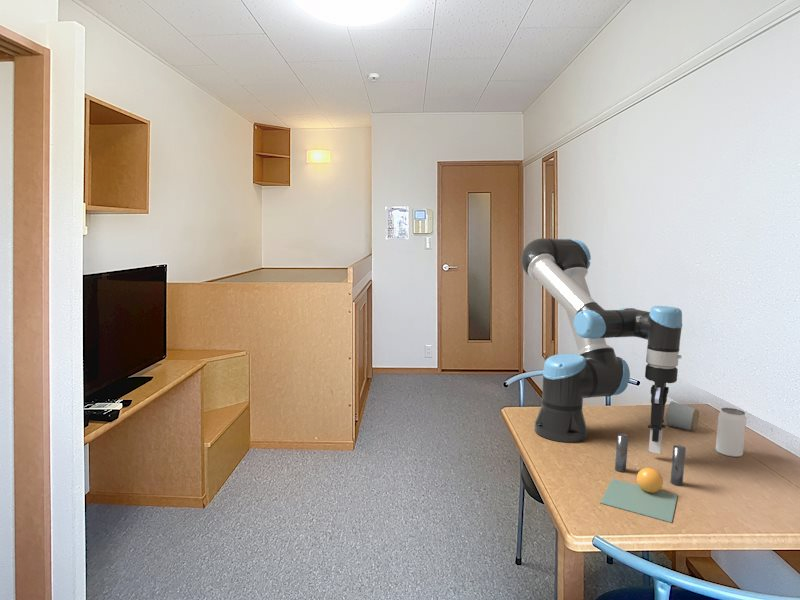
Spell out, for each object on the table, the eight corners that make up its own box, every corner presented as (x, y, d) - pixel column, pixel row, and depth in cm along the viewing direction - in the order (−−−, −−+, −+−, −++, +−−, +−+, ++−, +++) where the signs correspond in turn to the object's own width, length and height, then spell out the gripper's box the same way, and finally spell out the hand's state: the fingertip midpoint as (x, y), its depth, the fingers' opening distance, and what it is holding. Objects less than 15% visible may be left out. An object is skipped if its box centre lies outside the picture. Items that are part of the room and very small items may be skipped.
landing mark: (600, 503, 113) (600, 502, 113) (612, 479, 125) (612, 478, 125) (671, 523, 106) (671, 522, 106) (677, 495, 118) (677, 494, 118)
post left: (613, 470, 130) (616, 436, 129) (615, 466, 132) (618, 432, 131) (624, 473, 129) (627, 438, 128) (626, 469, 131) (629, 435, 130)
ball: (636, 475, 124) (634, 494, 120) (639, 460, 121) (636, 479, 117) (662, 481, 121) (660, 500, 117) (665, 466, 118) (663, 485, 114)
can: (747, 458, 140) (751, 415, 138) (720, 456, 141) (724, 413, 140) (736, 449, 146) (740, 408, 145) (711, 447, 147) (715, 406, 146)
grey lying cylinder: (693, 434, 157) (695, 409, 157) (664, 427, 163) (666, 403, 162) (700, 426, 165) (703, 402, 165) (672, 419, 171) (674, 397, 170)
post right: (669, 483, 124) (673, 447, 123) (670, 479, 126) (674, 444, 125) (682, 486, 122) (685, 450, 121) (682, 482, 124) (686, 446, 123)
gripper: (675, 372, 128) (667, 463, 131) (679, 363, 139) (672, 447, 142) (642, 368, 132) (635, 456, 135) (649, 359, 143) (642, 441, 145)
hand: (654, 451), depth 138 cm, fingers closed
